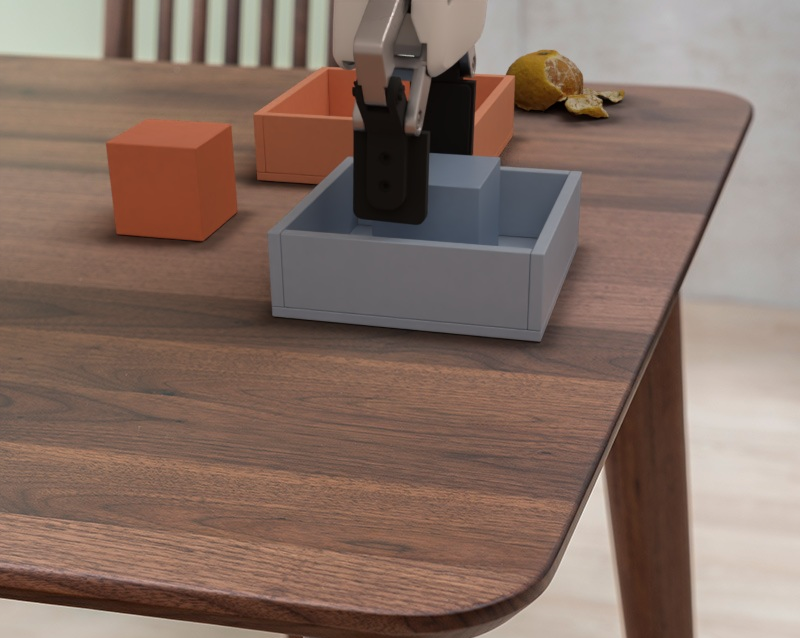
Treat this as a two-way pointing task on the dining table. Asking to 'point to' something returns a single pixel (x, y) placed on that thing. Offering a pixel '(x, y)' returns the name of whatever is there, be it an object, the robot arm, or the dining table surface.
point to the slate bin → (428, 262)
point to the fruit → (555, 85)
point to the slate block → (456, 203)
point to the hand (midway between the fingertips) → (416, 187)
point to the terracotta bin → (333, 129)
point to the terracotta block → (172, 179)
